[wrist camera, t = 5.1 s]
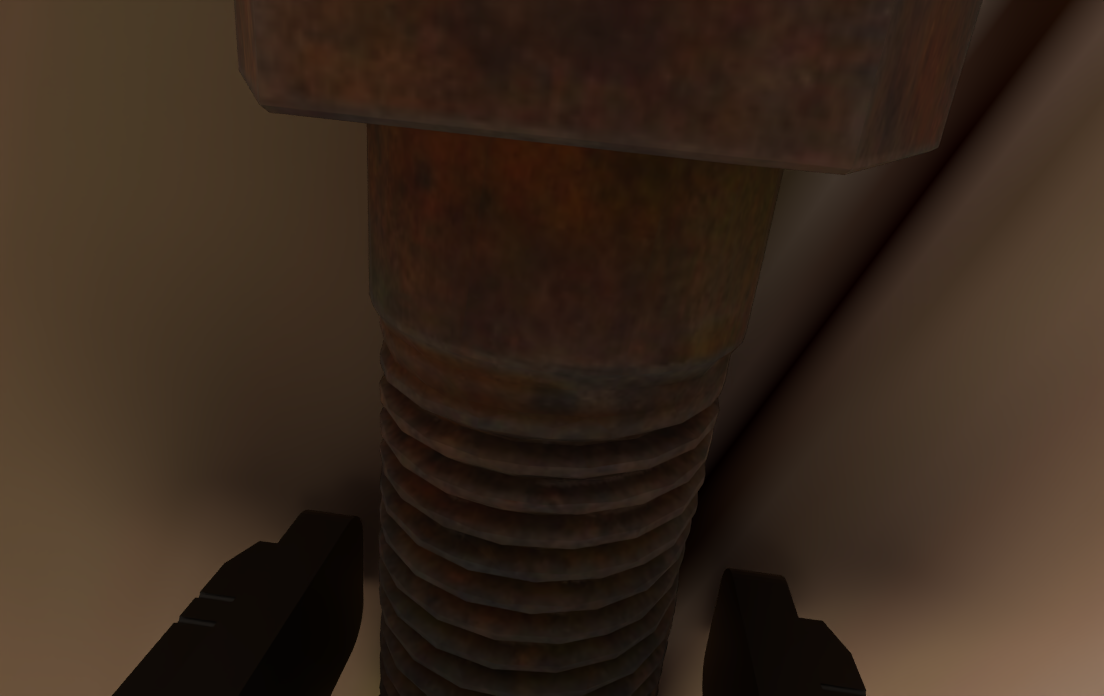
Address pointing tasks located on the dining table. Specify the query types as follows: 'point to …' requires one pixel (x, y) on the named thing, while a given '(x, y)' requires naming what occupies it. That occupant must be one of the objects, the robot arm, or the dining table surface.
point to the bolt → (575, 283)
